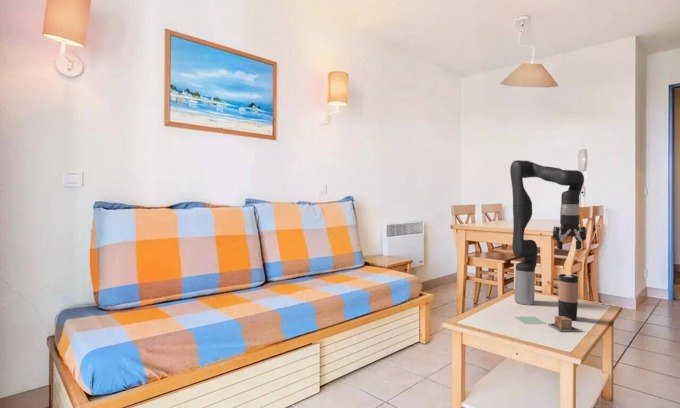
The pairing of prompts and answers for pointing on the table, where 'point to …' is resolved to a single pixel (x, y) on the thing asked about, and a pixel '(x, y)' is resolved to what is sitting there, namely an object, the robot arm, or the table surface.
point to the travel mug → (568, 296)
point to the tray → (563, 330)
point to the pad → (530, 320)
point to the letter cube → (563, 322)
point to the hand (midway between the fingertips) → (569, 249)
